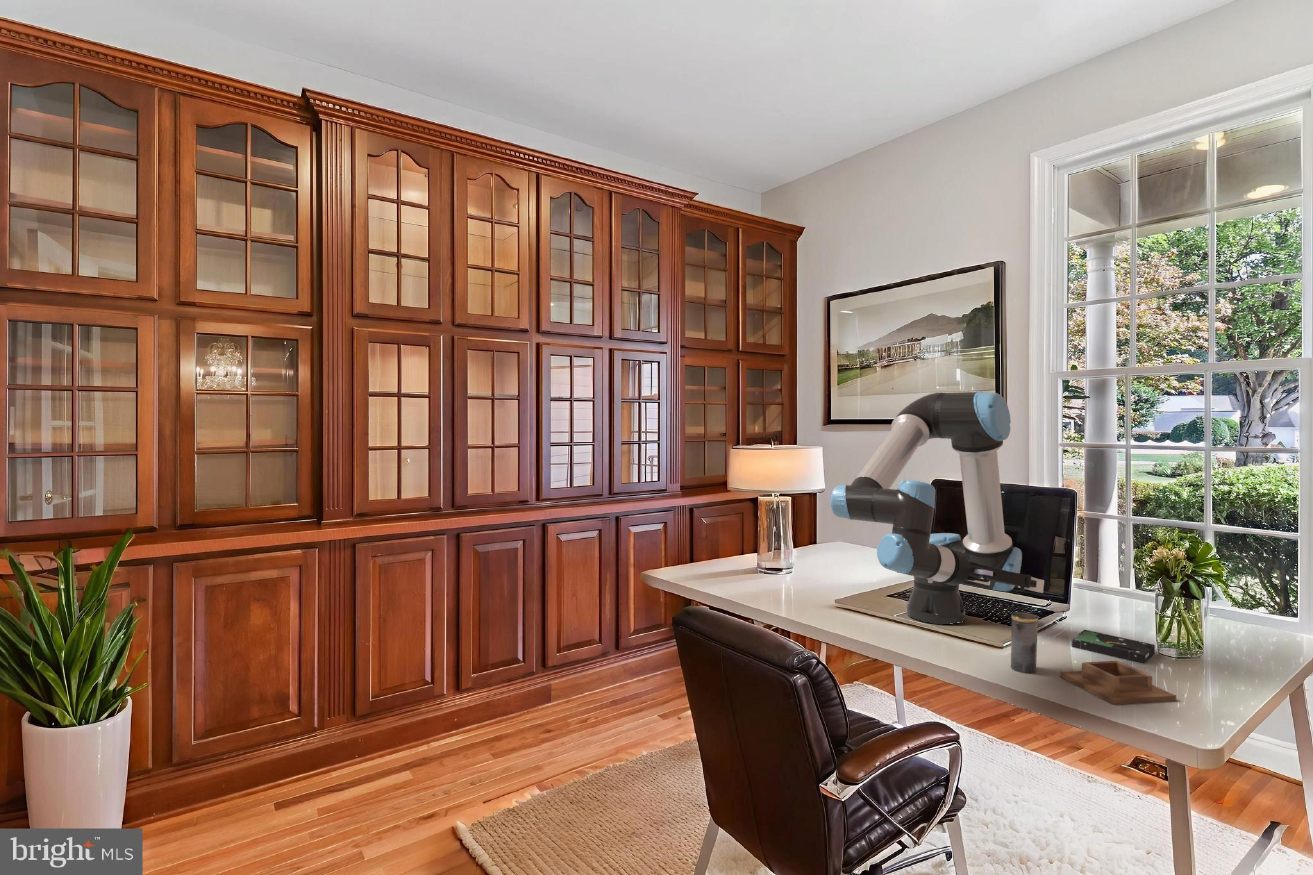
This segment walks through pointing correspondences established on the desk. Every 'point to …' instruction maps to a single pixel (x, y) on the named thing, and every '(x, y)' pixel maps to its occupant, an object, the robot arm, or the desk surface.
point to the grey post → (1024, 642)
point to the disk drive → (1114, 646)
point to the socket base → (1117, 683)
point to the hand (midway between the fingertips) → (1014, 582)
